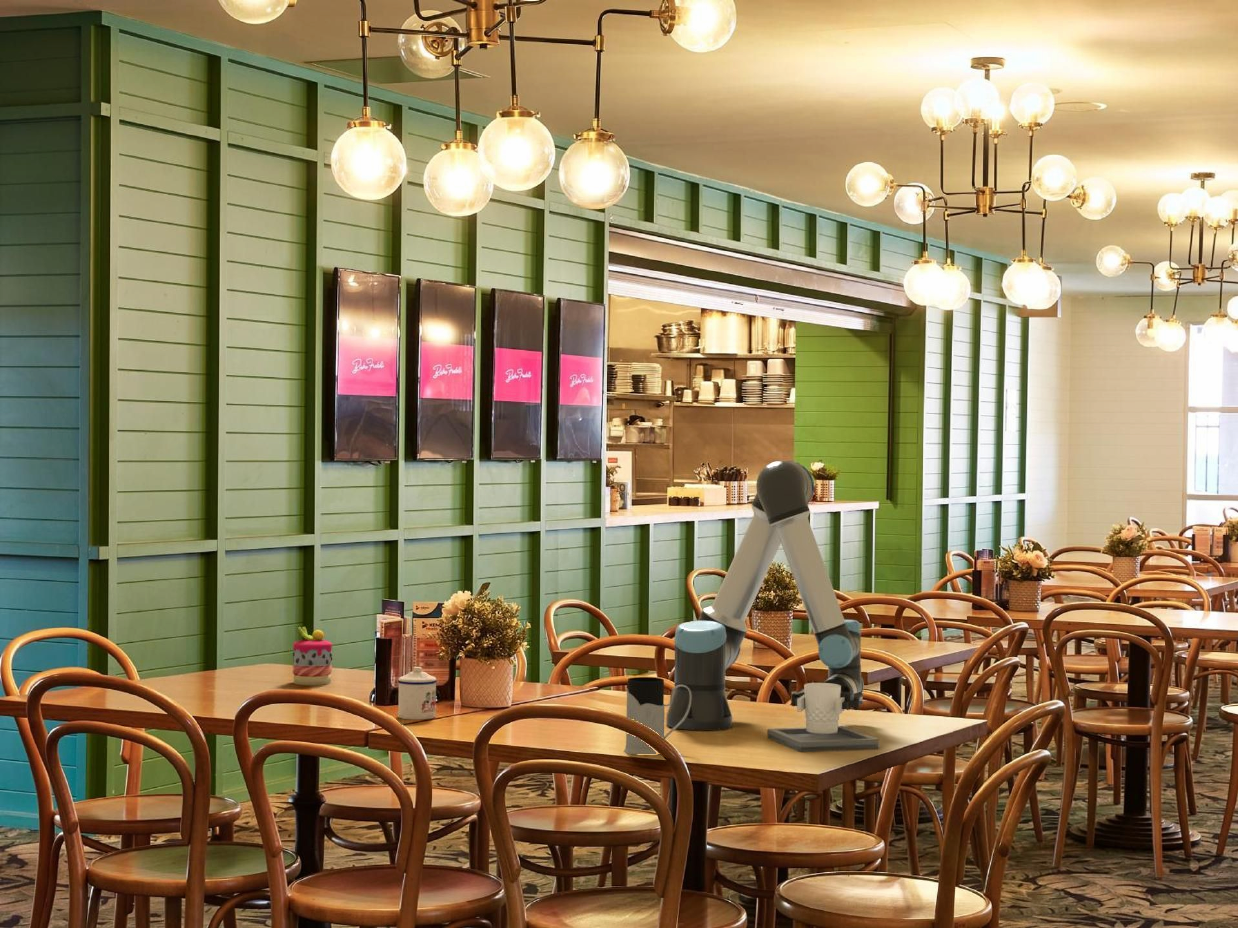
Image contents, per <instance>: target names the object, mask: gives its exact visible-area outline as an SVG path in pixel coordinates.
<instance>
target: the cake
mask: <svg viewBox="0 0 1238 928" xmlns="http://www.w3.org/2000/svg"><path fill="white" fill-rule="evenodd" d="M297 630H298V632H299V633H300V634H301V637H303V638H304V639H302V640H297V641H295V642H294V643H293V646H292V647H293V648H292V651H293V652H292V657H293V665H292V668H293V669H292V674H293V684H295V685H298V686H322V685H325V686H326V685H329V684H331V682H332V680H331V676H332V671H333V670H332V669H333V668H332V667H333V666H332V660H333V655H332V651H333V643H332V642H331V641H328V640H325V639H324V637H325V634H324V632H323V630H320V629H316V630H314V631H313V632H312V635H311V634H308V631H307V630H308V629H307V628H306V626H302V627H301V626H299V627H297Z"/></svg>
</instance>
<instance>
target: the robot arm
mask: <svg viewBox="0 0 1238 928" xmlns="http://www.w3.org/2000/svg"><path fill="white" fill-rule="evenodd" d="M755 487H756V488H755V489H756V494H755V496H754V498H753V501H752V503H751V508H752V511H753V516H752V518H751V520H750V522H749V525H748V527H747V529H746V531H745V533H744V534H743V538H742V539H741V541H740V544H739V546H738V548H737V551H736V553H735V554H734V557H733V559H732V561H731V564H730V566H729V568H728V570H727V572H726V574H725V577H724V579H723V581H722V583H721V585H720V587H719V589H718V591H717V594H716V596H715V598H714V600H713V603H712V604H711V605H709V606H706V607H703V609H702V611H701V613H700V615H699V617H698V619H697V620H691V621H689V622H682V623H680V624H679V625H677V627H676V629H675V634H674V638H673V642H674V687H676V686H677V685H685V686H687V687H688V688H689V689H690V691H691V696H692V699H691V706H690V710H689V712H688V715H687V717H686V718H685V720H684V721H683V722H682V723H681V724H680V725H679V726H678V727H677V728H676V729H679V730H686V731H687V730H689V731H717V730H727V729H729V728H732V727H733V714H732V711H731V708H730V705H729V701H728V697H727V694H726V670H728V669H729V668H730V667H732V666H733V665H734V664H735V663H736V661H737V660H738V658H739V656H740V654H741V646H742V643H743V641H744V639H745V636H746V635H747V632H748V629H749V628H748V627H747V624H746V619H747V617H748V615H749V612H750V610H751V608H752V606H753V604H754V602H755V600H756V597H757V595H758V594H759V591H760V589H761V588H762V585H763V582H764V581H765V579H766V576H767V574H768V572H769V570H770V567H771V565H772V563H773V561H774V559H775V556H776V555H777V553H778V550H779V548H780V546H782V548H783V549H782V550H783V552H784V554H785V557H786V560H787V562H788V565H789V569H790V571H791V573H792V576H793V579H794V583H795V586H796V587H797V590H798V593H799V595H800V598H801V601H802V604H803V606H804V608H805V612H806V615H807V618H808V620H809V623H810V625H811V628H812V631H813V634H814V638H815V641H816V643H817V646H818V650H817V651H818V652H817V653H818V656H819V660H820V661H821V663H823V665H824V666H826V667H828V669H827V670H828V671H827V672H828V673H827V676H828V678H827V679H826V680H824V681H823V682H822V683H831V684H838V685H841V695H840V699H838V700H837V701H836V714H839V715H840V714H842V713H843V712H844V711H845V710H846V711H849V710H851V708H853V710H855V711H859V710H860V705H863V703H864V702H863V701H864V699H863V697H864V696H863V694H864V693H863V691H864V688H865V685H864V679H863V677H862V667H861V666H862V665H861V655H862V654H861V651H862V650H861V645H862V644H861V641H862V639H861V638H862V633H861V624H860V622H859V621H858V620H855V619H845V617H844V616H843V612H842V610H841V606H840V604H839V600H838V599H837V598H838V597H837V595H836V593H835V590H834V587H833V585H832V582H831V580H830V579H831V578H830V577H829V572H828V570H827V568H826V565H825V562H824V560H823V557H822V554H821V551H820V548H819V546H818V543H817V540H816V538H815V535H814V531H813V529H812V526H811V524H810V520H809V515H810V514H811V510H810V508H809V504H810V502H811V501H812V499H813V496H814V493H815V482H814V478H813V476H812V474H811V472H810V471H809V469H807V468H806V467H805V466H804V465H802V464H800V462H796V461H793V460H776V461H773V462H771V463H768V464H767V465H766V466H764V467H763V468H762V470H761V471H760V472H759V473H758V476H757V479H756V485H755ZM790 695H791V696H790V705H791V706H792V707H796V711H797V713H801V712H803V711H805V695H804V688H802V689H801V690H800V691H797V692H794V693H791V694H790ZM689 698H690V696H689V691H688V689H687V688H686V687H678V688H677V689H676V690H675V691H674V693H673V700H672V704H671V705H669V706H668V709H667V712H666V719H665V720H666V726H667V727H670V728H672V729H673V728H674V727H675V726H676V725H677V724H678V723H679V722H680V721H681V720H682V719H683V717H684V715H685V714H686V711H687V709H688V705H689Z"/></svg>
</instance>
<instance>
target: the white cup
mask: <svg viewBox="0 0 1238 928" xmlns="http://www.w3.org/2000/svg"><path fill="white" fill-rule="evenodd" d="M803 687H804V688H803V689H804V695H805V709H804V713H805V716H804V717H805V726H806V731H807V732H811V733H818V734H832V733H837V731H838V726H839V720H840V714H836V701H837V700H838V699H840V695H841V685H838V684H831V683H823V682H809V683H804V686H803Z"/></svg>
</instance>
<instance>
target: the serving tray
mask: <svg viewBox="0 0 1238 928" xmlns="http://www.w3.org/2000/svg"><path fill="white" fill-rule="evenodd" d="M766 732H767V734H766V735H767V739H769V740H771V741H774V742H776V743H778V744H781V745H783V746H785V747H788V748H790V749H792V750H795V751H797V752H800V753H805V752H807V753H808V752H809V753H810V752H833V751H857V750H876V749H877V750H878V749H879V746H880V744H879V742H880V741H879V738H876V737H873V736H871V735H868V734H865V733H863V732H860V731H858V730H854V729H851V728H849V727H846V726H844V725H838V731H837V733H832V734H818V733H811V732H807V731H806V727H783V728H782V727H781V728H780V727H779V728H778V727H777V728H767V729H766Z"/></svg>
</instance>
